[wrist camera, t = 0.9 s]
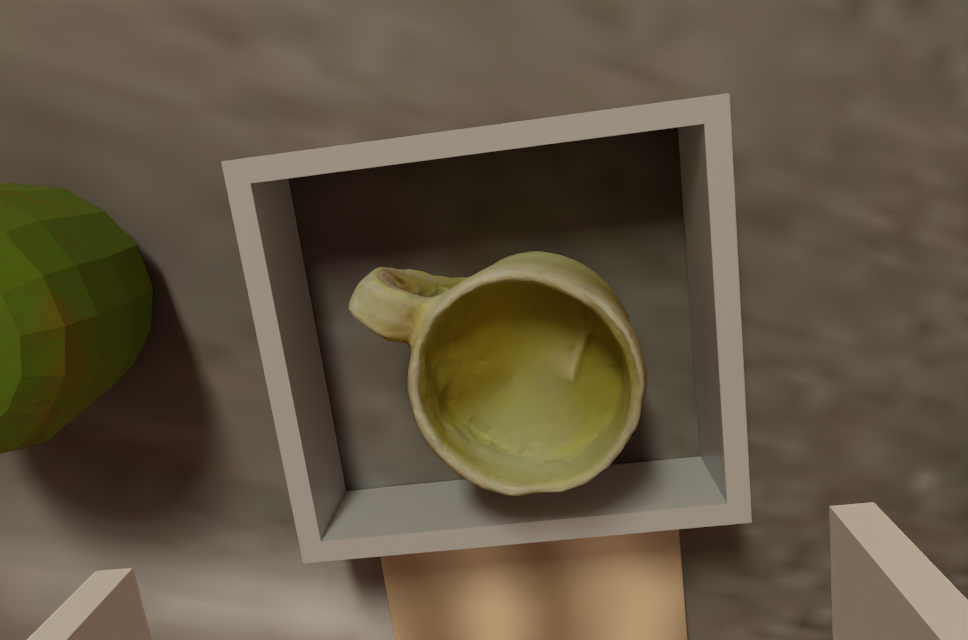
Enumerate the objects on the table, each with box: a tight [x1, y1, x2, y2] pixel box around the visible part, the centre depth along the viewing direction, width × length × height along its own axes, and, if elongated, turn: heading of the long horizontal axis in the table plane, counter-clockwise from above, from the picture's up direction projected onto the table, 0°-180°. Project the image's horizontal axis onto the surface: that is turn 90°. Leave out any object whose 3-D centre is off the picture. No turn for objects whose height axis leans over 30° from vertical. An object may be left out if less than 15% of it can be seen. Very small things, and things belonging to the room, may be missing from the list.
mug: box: [349, 251, 647, 496], centre depth 32 cm, size 12×10×10 cm
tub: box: [221, 93, 752, 563], centre depth 33 cm, size 20×18×5 cm
